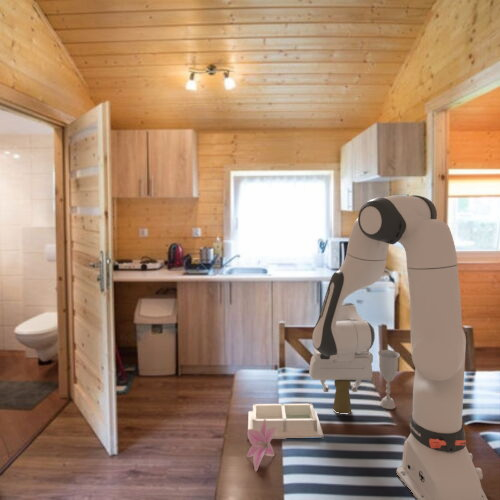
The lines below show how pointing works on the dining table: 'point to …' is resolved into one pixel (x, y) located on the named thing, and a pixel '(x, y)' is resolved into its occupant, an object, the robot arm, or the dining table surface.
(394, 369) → the chalice
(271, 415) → the cream divided tray
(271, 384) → the dining table surface
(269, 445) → the lily
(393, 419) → the dining table surface
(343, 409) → the cork
